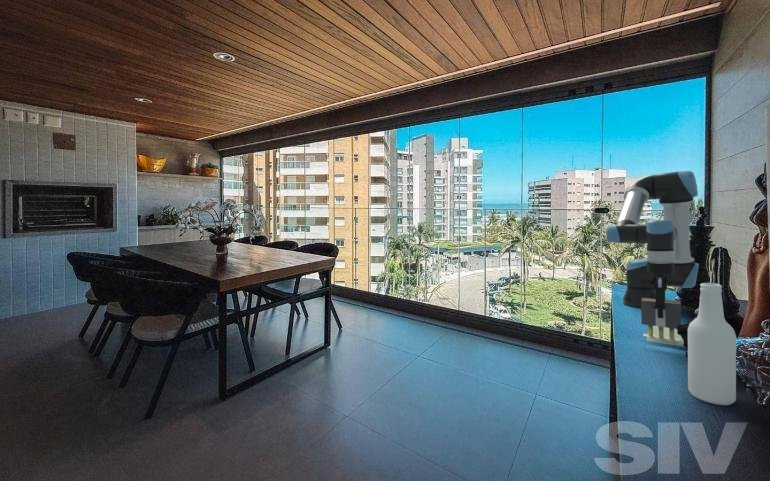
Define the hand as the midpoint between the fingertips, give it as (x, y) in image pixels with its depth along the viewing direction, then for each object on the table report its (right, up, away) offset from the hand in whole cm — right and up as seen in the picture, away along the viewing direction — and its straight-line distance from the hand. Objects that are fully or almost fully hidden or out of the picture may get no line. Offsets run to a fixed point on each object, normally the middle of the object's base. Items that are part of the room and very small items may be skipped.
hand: (660, 323), depth 119 cm
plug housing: (0, 0, 0) cm, 0 cm away
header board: (+5, -6, +2) cm, 8 cm away
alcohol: (-17, -10, -35) cm, 40 cm away
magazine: (-1, -8, -18) cm, 20 cm away
